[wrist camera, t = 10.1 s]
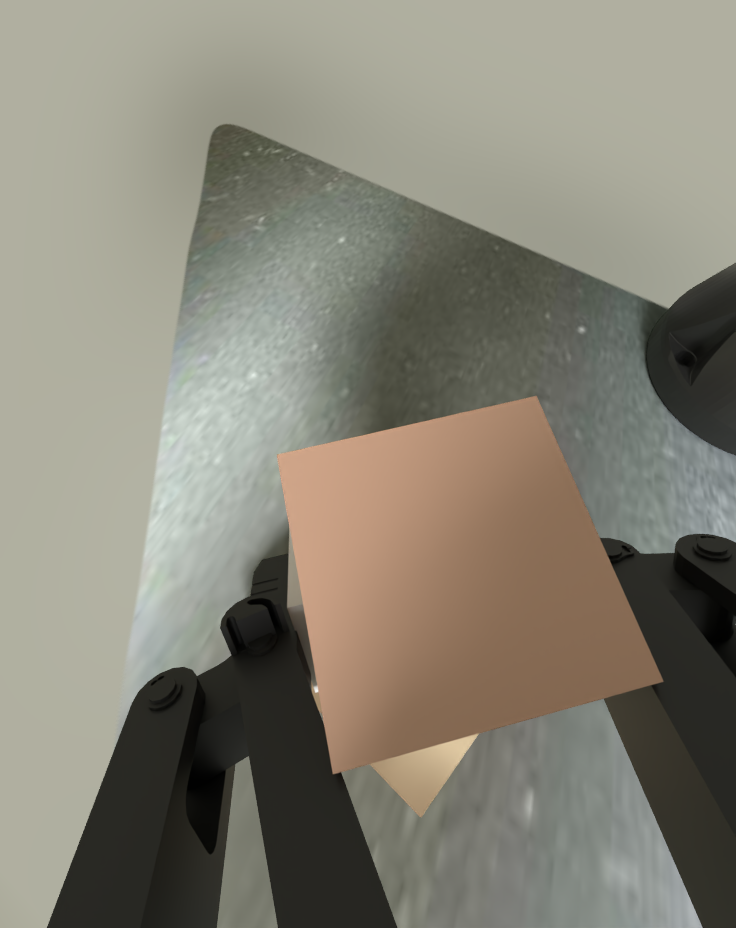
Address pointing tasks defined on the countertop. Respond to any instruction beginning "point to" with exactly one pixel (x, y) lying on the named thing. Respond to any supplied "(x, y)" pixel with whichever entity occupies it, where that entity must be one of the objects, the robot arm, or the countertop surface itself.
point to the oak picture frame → (420, 769)
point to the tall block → (453, 583)
